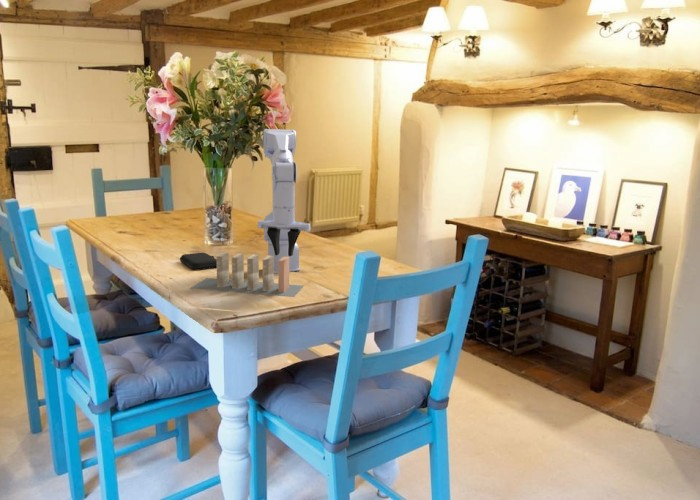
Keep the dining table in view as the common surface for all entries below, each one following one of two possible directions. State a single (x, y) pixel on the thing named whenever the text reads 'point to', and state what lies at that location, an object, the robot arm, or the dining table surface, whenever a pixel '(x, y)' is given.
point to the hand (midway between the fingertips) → (283, 255)
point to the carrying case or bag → (199, 261)
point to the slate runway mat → (212, 285)
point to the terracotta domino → (283, 274)
